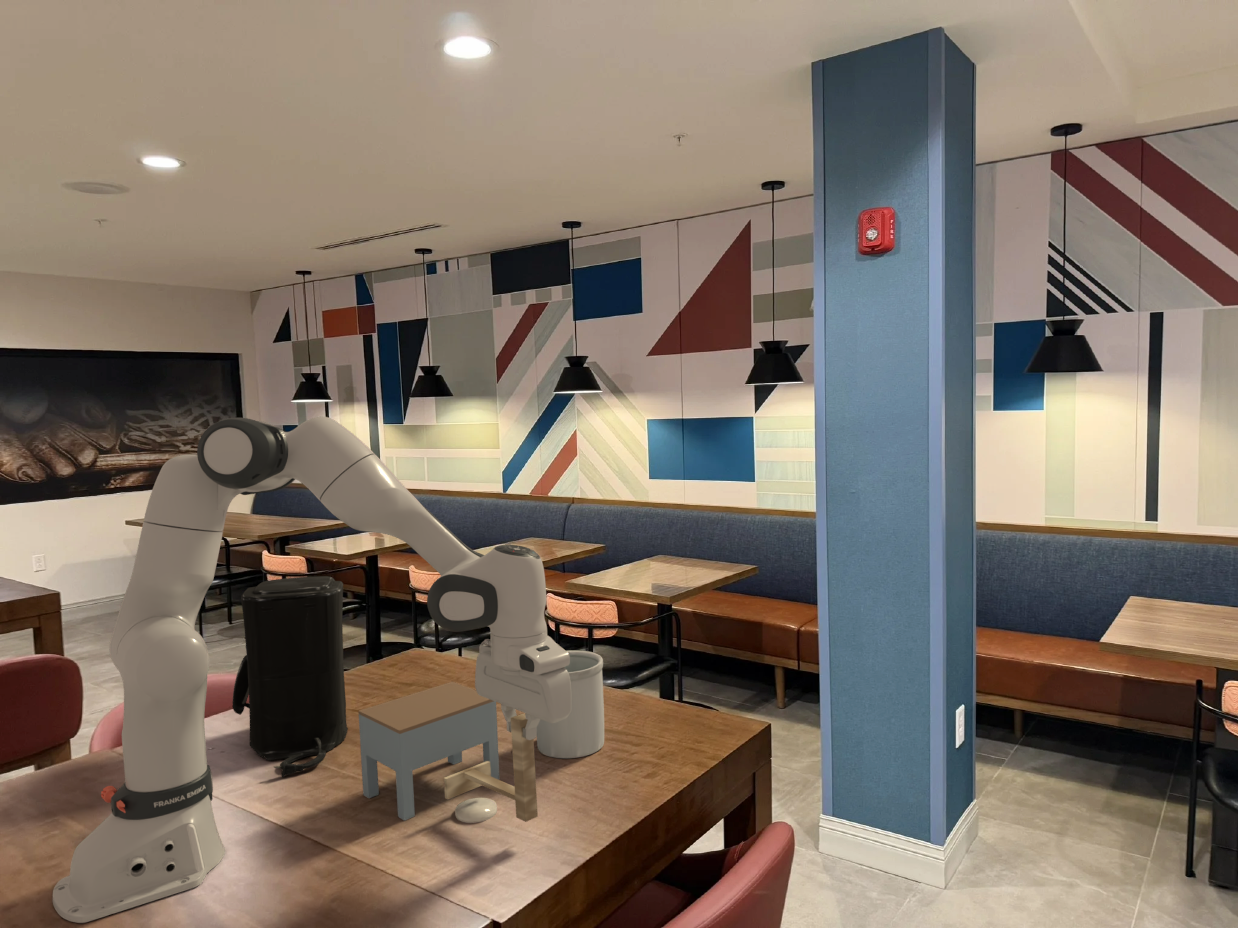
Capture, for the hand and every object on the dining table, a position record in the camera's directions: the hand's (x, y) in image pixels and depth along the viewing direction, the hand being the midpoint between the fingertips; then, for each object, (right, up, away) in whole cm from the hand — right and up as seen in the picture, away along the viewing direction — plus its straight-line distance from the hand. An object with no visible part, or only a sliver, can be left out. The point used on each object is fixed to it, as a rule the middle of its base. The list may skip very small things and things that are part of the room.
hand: (521, 734), depth 129 cm
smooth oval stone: (-9, -17, +11) cm, 22 cm away
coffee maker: (-55, -16, +43) cm, 72 cm away
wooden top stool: (-19, -17, +21) cm, 32 cm away
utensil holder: (+5, -15, +38) cm, 41 cm away
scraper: (-5, -13, +6) cm, 15 cm away
